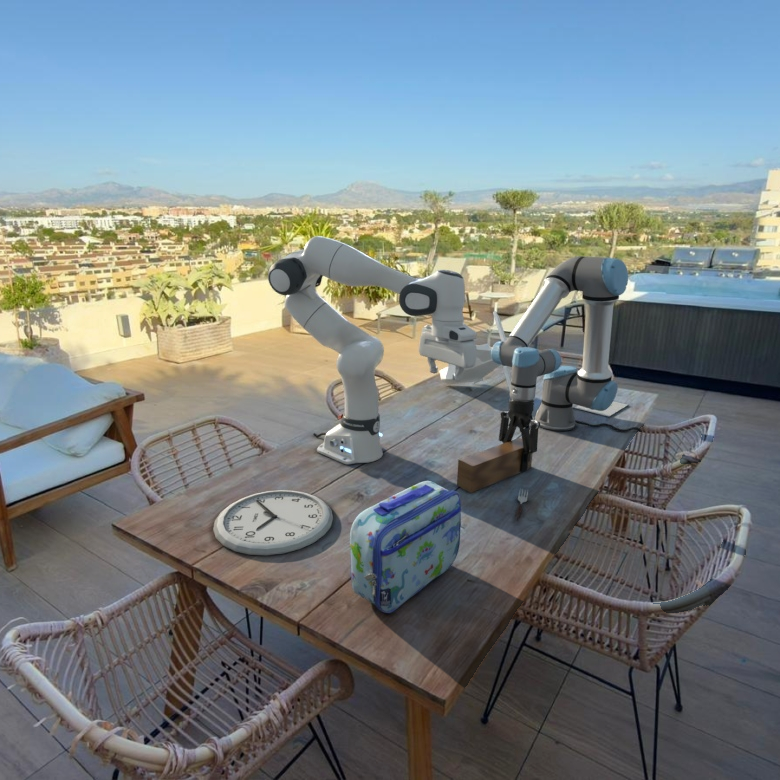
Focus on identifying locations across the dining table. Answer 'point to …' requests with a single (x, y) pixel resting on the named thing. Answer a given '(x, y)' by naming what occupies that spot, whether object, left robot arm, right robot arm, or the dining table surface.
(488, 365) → the white plastic object
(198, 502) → the dining table surface
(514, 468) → the bar
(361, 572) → the lunch box
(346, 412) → the left robot arm
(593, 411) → the invitation card
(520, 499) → the fork
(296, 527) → the wall clock
